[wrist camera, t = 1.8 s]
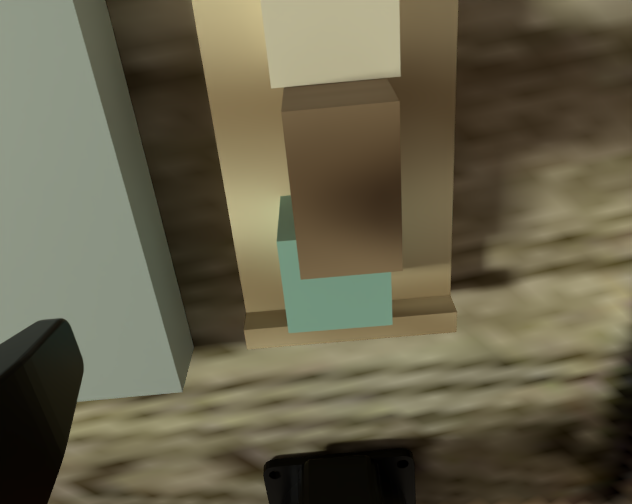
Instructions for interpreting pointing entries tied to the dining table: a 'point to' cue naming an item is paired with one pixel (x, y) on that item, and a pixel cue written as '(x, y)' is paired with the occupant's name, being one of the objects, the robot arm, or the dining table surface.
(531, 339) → the dining table surface
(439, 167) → the tray
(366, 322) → the block
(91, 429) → the dining table surface
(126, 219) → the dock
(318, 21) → the block
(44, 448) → the robot arm
